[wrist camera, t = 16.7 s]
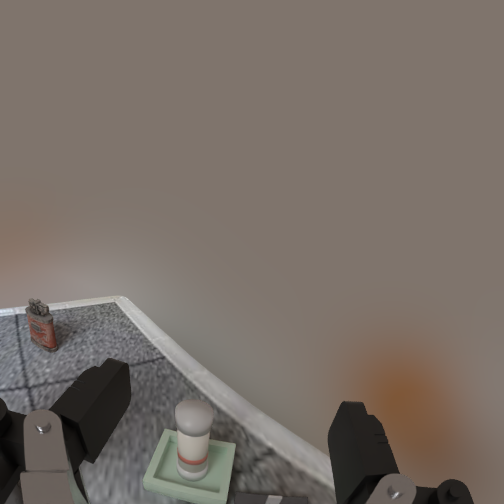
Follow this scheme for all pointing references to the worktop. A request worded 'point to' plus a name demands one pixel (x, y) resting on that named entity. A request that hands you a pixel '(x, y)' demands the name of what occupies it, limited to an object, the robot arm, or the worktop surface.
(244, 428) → the worktop surface
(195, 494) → the tray
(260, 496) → the grey base plate
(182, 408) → the fuse
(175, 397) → the worktop surface
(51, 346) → the lighter
